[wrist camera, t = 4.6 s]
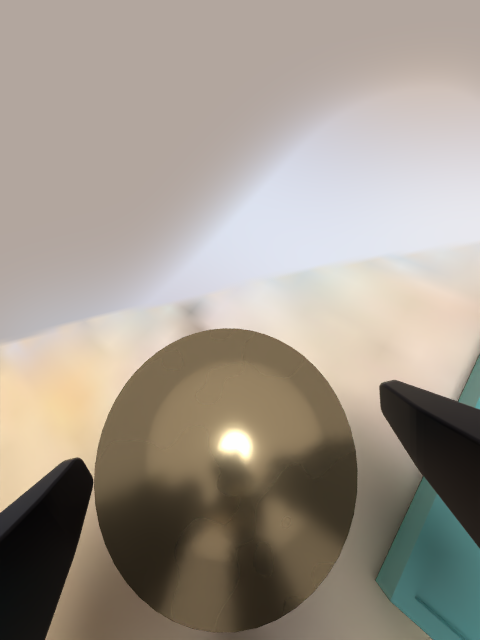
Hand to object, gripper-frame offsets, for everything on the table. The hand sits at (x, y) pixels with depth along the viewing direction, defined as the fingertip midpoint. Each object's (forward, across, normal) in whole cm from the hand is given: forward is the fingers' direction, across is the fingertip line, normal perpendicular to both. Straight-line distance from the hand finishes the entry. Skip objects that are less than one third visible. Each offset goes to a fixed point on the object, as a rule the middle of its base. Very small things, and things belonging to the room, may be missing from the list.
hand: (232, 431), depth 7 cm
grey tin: (+4, 0, +5) cm, 7 cm away
